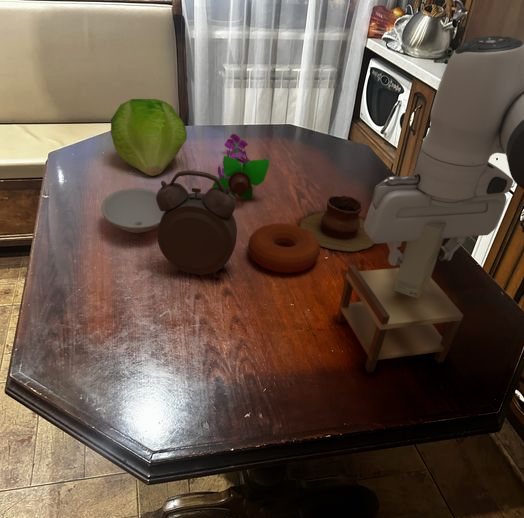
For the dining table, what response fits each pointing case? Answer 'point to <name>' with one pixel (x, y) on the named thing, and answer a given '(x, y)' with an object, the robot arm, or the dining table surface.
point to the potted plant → (232, 172)
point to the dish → (133, 209)
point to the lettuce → (147, 134)
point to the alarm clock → (196, 225)
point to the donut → (283, 248)
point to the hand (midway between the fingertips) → (419, 261)
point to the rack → (396, 317)
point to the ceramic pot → (339, 225)
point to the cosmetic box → (419, 261)
